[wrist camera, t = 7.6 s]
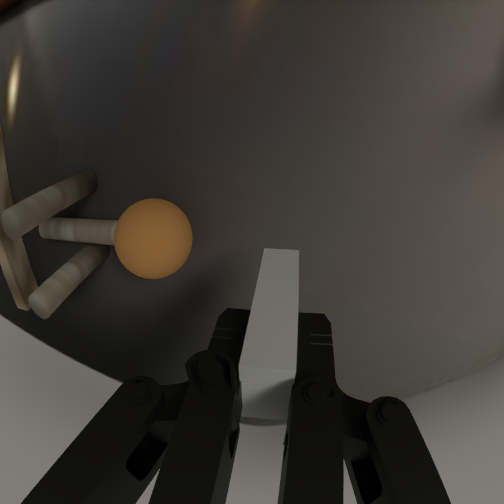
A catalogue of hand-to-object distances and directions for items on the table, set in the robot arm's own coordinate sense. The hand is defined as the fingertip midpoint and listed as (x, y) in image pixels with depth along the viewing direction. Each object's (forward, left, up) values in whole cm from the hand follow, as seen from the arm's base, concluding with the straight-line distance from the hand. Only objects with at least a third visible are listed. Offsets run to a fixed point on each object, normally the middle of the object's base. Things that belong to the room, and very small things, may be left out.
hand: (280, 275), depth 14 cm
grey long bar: (+1, -28, -8) cm, 29 cm away
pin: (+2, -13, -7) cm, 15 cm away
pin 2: (+4, -16, -8) cm, 18 cm away
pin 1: (-2, -16, -8) cm, 18 cm away
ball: (+1, -9, -5) cm, 10 cm away
